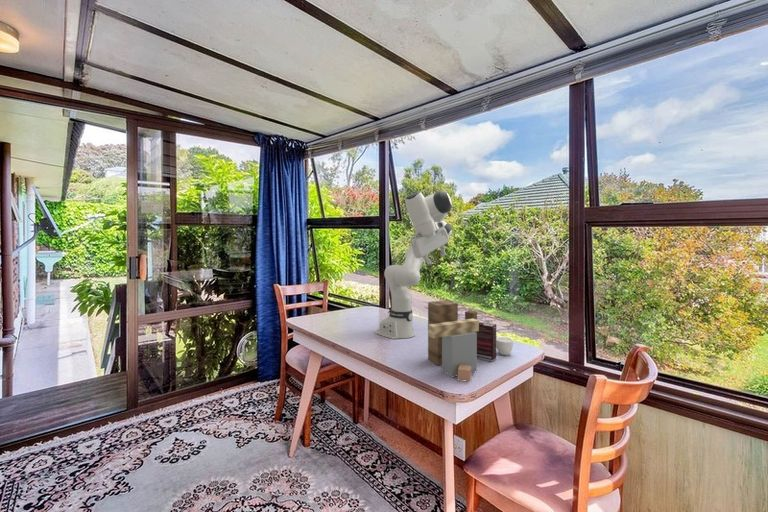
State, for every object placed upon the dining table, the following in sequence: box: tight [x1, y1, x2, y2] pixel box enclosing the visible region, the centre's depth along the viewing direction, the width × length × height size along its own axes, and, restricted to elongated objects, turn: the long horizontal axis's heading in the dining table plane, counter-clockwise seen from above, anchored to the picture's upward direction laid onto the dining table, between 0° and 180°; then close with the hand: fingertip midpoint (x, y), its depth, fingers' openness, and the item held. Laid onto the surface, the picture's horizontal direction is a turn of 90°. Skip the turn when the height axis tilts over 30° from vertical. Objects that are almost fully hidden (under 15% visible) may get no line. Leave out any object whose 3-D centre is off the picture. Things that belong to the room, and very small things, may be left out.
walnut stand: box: [427, 299, 459, 367], centre depth 145 cm, size 10×8×26 cm
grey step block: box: [441, 332, 478, 377], centre depth 135 cm, size 12×7×16 cm, turn 114°
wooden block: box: [464, 310, 478, 320], centre depth 161 cm, size 9×4×18 cm, turn 137°
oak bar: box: [427, 319, 480, 338], centre depth 133 cm, size 22×4×4 cm, turn 114°
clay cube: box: [457, 365, 472, 382], centre depth 128 cm, size 4×4×4 cm
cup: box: [496, 336, 514, 356], centre depth 155 cm, size 8×10×7 cm
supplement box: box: [476, 321, 497, 362], centre depth 148 cm, size 9×5×16 cm, turn 52°
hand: (437, 259), depth 141 cm, fingers open, 8 cm apart
